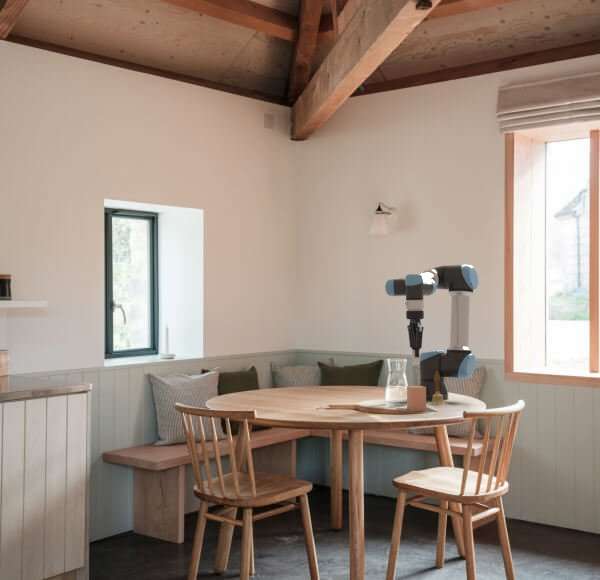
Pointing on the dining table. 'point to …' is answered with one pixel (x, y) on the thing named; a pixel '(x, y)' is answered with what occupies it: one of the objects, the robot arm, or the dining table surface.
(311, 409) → the dining table surface
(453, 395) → the dining table surface
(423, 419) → the dining table surface
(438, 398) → the hand bell
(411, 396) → the pink upright block
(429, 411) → the board
